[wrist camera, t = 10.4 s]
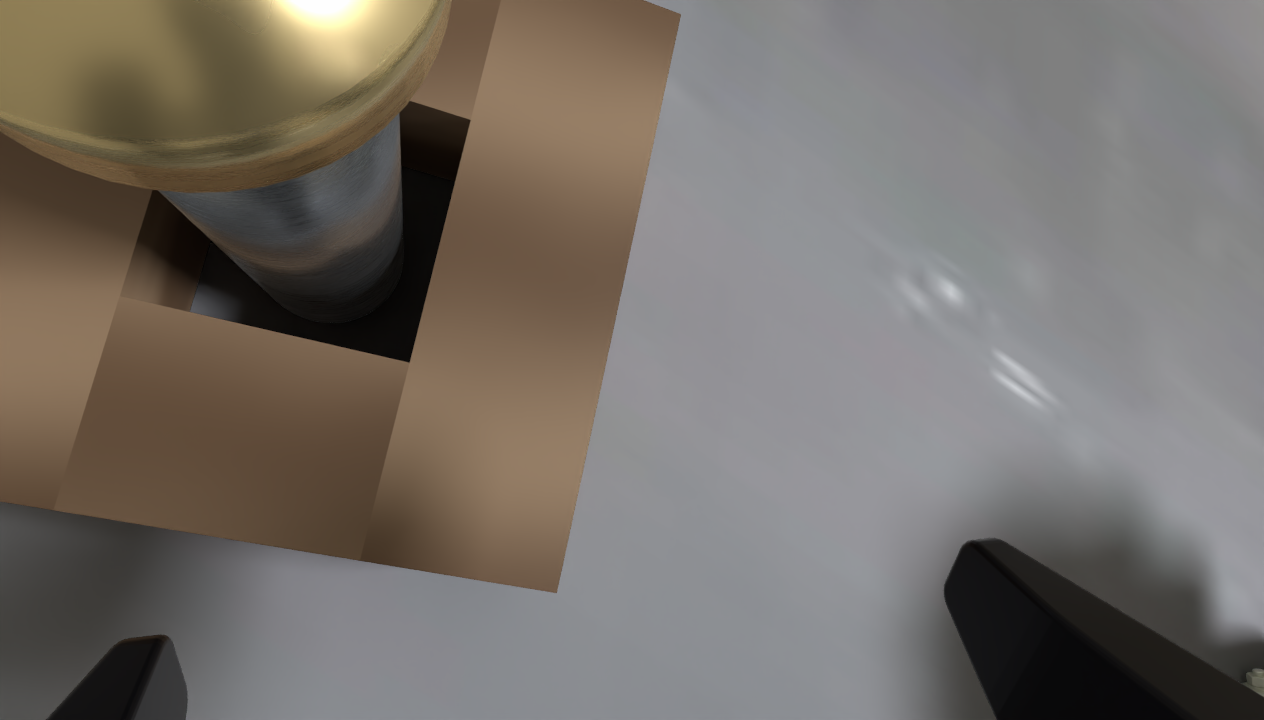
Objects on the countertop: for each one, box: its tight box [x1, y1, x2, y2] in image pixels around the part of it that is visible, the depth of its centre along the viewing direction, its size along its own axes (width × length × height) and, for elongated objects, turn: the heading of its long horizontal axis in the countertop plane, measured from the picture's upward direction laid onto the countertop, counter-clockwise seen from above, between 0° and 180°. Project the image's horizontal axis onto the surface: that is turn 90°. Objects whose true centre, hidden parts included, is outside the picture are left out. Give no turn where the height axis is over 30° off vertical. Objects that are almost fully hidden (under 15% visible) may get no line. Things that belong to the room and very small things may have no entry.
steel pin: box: [0, 0, 452, 323], centre depth 11 cm, size 4×4×13 cm
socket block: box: [0, 0, 681, 593], centre depth 16 cm, size 12×12×4 cm
